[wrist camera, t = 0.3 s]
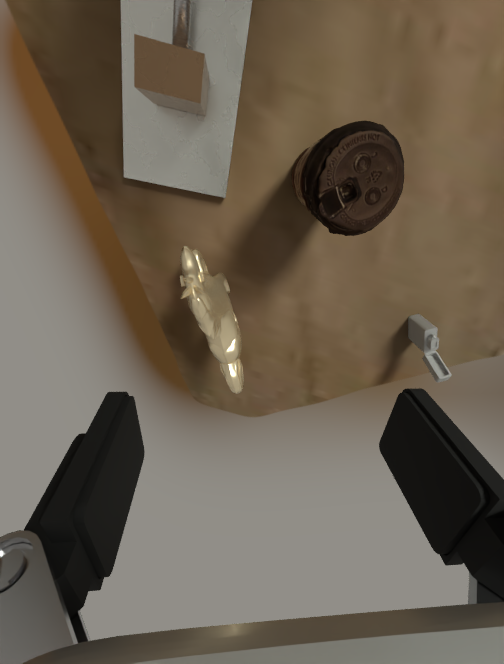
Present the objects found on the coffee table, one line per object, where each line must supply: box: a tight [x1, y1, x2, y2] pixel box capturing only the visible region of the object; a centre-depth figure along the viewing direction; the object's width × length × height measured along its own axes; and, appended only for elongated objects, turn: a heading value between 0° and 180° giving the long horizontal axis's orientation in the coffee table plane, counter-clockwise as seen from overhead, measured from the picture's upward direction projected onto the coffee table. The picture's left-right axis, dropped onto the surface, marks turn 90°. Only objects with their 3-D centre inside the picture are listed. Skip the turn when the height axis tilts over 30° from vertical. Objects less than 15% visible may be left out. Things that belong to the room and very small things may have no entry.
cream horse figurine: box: [180, 246, 244, 393], centre depth 33 cm, size 20×4×17 cm, turn 12°
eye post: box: [121, 0, 252, 198], centre depth 24 cm, size 26×11×6 cm, turn 169°
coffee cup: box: [292, 121, 404, 236], centre depth 28 cm, size 9×8×13 cm
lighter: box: [408, 314, 451, 382], centre depth 42 cm, size 7×2×8 cm, turn 16°
